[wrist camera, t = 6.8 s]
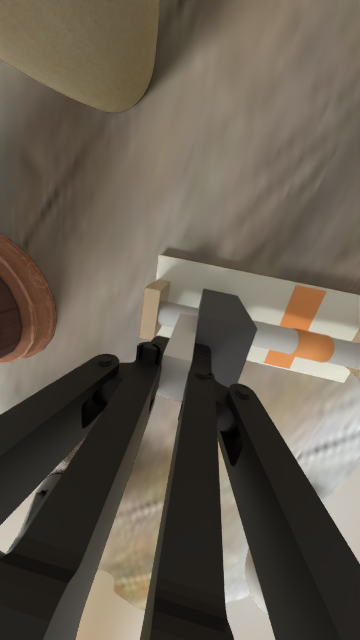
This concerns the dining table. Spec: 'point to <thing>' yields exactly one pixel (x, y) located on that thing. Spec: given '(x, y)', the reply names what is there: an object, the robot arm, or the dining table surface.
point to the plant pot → (83, 47)
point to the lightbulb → (254, 583)
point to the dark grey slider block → (225, 334)
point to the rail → (264, 316)
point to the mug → (23, 305)
